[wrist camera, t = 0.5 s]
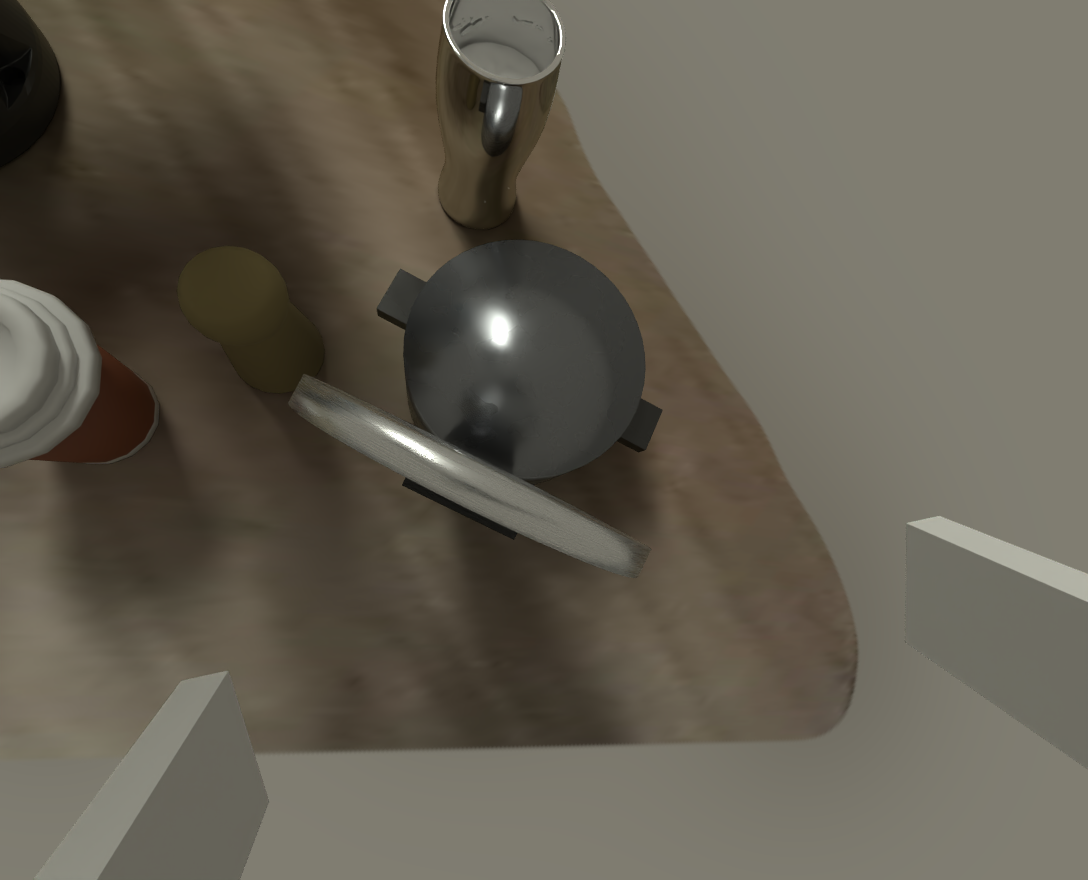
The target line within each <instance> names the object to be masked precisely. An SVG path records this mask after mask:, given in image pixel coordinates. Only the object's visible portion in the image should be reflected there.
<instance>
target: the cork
mask: <svg viewBox="0 0 1088 880" xmlns="http://www.w3.org/2000/svg"><path fill="white" fill-rule="evenodd" d="M177 295H178V300H179V305H180V308H181V310H182V312H183V314H184V315H185V317H186V318H187V320H188V322H189V323H190V324H191V325H192V326H193V327H195V328H196V329H197V330H198V331H199V332H201V333H202V334H203V335H204V336H205V337H207V338H209V339H212V340H214V341H216V342H219V343H220V344H221V346H222V348H223V349H224V351H225V353H226V355H227V356H228V358H229V360H230V361H231V363H232V365H233V367H234V368H235V370H236V371H237V373H238V375H239V376H240V378H242V379H243V380H244V381H245V382H246V383H248V384H249V385H250V386H251V387H254V388H256V389H259V390H261V391H264V392H270V393H285V392H290V391H295V389H296V387H297V385H298V383H299V382H300V380H301V378H302V376H303V374H305V375H308V376H311V377H313V378H314V377H315V376H316V375H317V374H318V372H319V370H320V367H321V365H322V363H323V359H324V350H325V349H324V345H323V340H322V336H321V335H320V333H319V332H318V330H317V328H316V327H315V325H314V324H313V323H312V322H310V321H309V320H308V319H307V318H306V317H305V316H304V315H303V314H302V313H301V312H300V311H299V310H298V309H297V308H296V307H295V306H294V305H293V304H292V303H291V302H290V301H289V295H288V291H287V286H286V283H285V281H284V279H283V278H282V276H281V275H280V273H279V271H278V270H277V268H276V267H275V266H274V265H273V264H271V263H270V262H269V261H268V260H267V259H265V258H264V257H263V256H261V255H260V254H258V253H256V252H253V251H251V250H249V249H247V248H243V247H236V246H222V247H214V248H210V249H208V250H206V251H203V252H201V253H199V254H197V255H196V256H195V257H194V258H193V259H192V260H190V261H189V262H188V263H187V264H186V266H185V267H184V269H183V271H182V273H181V274H180V276H179V280H178V286H177Z"/></svg>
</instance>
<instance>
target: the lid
mask: <svg viewBox="0 0 1088 880" xmlns="http://www.w3.org/2000/svg"><path fill="white" fill-rule="evenodd" d="M288 405H289V406H290V408H291V409H292V410H294V411H295V412H296V413H297V414H299V415H300V416H301V417H303V418H304V419H306V420H307V421H309V422H310V423H311V424H313V425H315V426H316V427H318V428H319V429H321V430H323V431H324V432H326V433H327V434H329V435H331V436H332V437H334V438H336V439H337V440H339V441H341V442H343V443H344V444H346V445H348V446H349V447H351V448H353V449H355V450H356V451H358V452H360V453H362V454H364V455H365V456H367V457H369V458H371V459H373V460H374V461H376V462H378V463H380V464H382V465H384V466H385V467H387V468H389V469H391V470H393V471H395V472H397V473H399V474H400V475H402V476H404V477H406V478H405V480H404V482H403V484H402V486H405V487H407V488H409V489H411V490H413V491H415V492H417V493H419V494H421V495H423V496H425V497H427V498H429V499H431V500H433V501H435V502H437V503H439V504H442V505H444V506H446V507H448V508H450V509H452V510H454V511H456V512H458V513H460V514H462V515H464V516H466V517H468V518H470V519H472V520H474V521H476V522H478V523H481V524H483V525H485V526H487V527H489V528H491V529H493V530H495V531H497V532H499V533H501V534H503V535H505V536H507V537H509V538H511V539H513V540H514V539H515V537H516V535H517V533H520V534H522V535H524V536H526V537H528V538H530V539H533V540H535V541H537V542H539V543H542V544H544V545H546V546H548V547H551V548H553V549H555V550H557V551H560V552H562V553H564V554H567V555H569V556H572V557H574V558H576V559H579V560H581V561H584V562H586V563H589V564H591V565H594V566H596V567H599V568H602V569H604V570H607V571H610V572H613V573H616V574H619V575H623V576H626V577H631V578H637V577H638V576H639V574H640V572H641V569H642V567H643V565H644V563H645V561H646V559H647V557H648V555H649V553H650V551H651V548H650V547H648V546H646V545H645V544H643V543H641V542H640V541H638V540H636V539H634V538H633V537H631V536H629V535H627V534H625V533H624V532H622V531H620V530H618V529H616V528H614V527H612V526H611V525H609V524H607V523H605V522H603V521H601V520H599V519H597V518H595V517H594V516H592V515H590V514H588V513H586V512H584V511H582V510H580V509H578V508H576V507H574V506H573V505H571V504H569V503H567V502H565V501H563V500H561V499H559V498H557V497H555V496H553V495H551V494H549V493H547V492H545V491H544V490H542V489H540V488H538V487H536V486H534V485H532V484H530V483H528V482H526V481H524V480H522V479H520V478H518V477H516V476H514V475H512V474H510V473H508V472H506V471H504V470H502V469H500V468H498V467H496V466H494V465H493V464H491V463H489V462H487V461H485V460H483V459H481V458H479V457H477V456H475V455H473V454H471V453H469V452H467V451H465V450H463V449H461V448H459V447H457V446H455V445H453V444H451V443H449V442H447V441H445V440H443V439H441V438H439V437H437V436H435V435H432V434H430V433H428V432H426V431H424V430H422V429H420V428H418V427H416V426H414V425H412V424H410V423H408V422H406V421H404V420H402V419H400V418H398V417H396V416H394V415H392V414H390V413H388V412H386V411H384V410H382V409H379V408H377V407H375V406H373V405H371V404H369V403H367V402H365V401H363V400H361V399H359V398H357V397H354V396H352V395H350V394H348V393H346V392H344V391H342V390H340V389H337V388H335V387H333V386H331V385H329V384H327V383H324V382H322V381H320V380H318V379H315V378H313V377H311V376H308V375H305V374H303V376H302V378H301V380H300V382H299V383H298V385H297V387H296V389H295V391H294V393H293V395H292V396H291V398H290V400H289V402H288Z"/></svg>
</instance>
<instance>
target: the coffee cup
mask: <svg viewBox="0 0 1088 880" xmlns="http://www.w3.org/2000/svg"><path fill="white" fill-rule="evenodd" d="M159 406H160V405H159V403H158V400H157V398H156V395H155V393H154V391H153V388H152V387H151V386H150V385H149V384H148V383H147V382H145V381H144V380H143V379H142V378H141V377H140V376H139V375H138V374H136V373H134V372H133V371H131V370H130V369H129V368H127V367H126V366H125V365H123V364H122V363H121V362H120V361H118V360H117V359H116V358H114V357H113V356H112V355H110V354H109V353H108V352H106V351H105V350H104V349H102V348H101V347H100V346H99V345H97V344H96V342H95V340H94V337H93V335H92V332H91V330H90V327H89V325H87V324H86V323H85V322H84V321H83V320H82V319H81V318H80V317H79V316H78V315H77V314H75V313H74V312H73V311H72V310H71V309H70V308H69V307H68V306H67V305H66V304H65V303H64V302H62V301H61V300H60V299H58V298H57V297H55V296H54V295H51V294H49V293H46V292H43V291H41V290H38V289H36V288H33V287H30V286H28V285H25V284H23V283H20V282H18V281H15V280H0V468H6V467H9V466H11V465H14V464H17V463H20V462H23V461H26V460H44V461H60V462H76V463H85V464H111V463H114V462H117V461H119V460H122V459H125V458H128V457H130V456H133V455H134V454H135V453H136V452H137V451H139V450H140V449H141V448H142V447H143V446H145V445H146V444H147V443H148V442H149V441H150V439H151V437H152V435H153V433H154V431H155V429H156V428H157V426H158V422H159Z"/></svg>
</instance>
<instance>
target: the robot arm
mask: <svg viewBox="0 0 1088 880" xmlns="http://www.w3.org/2000/svg"><path fill="white" fill-rule="evenodd" d="M59 92H60V76H59V69H58V65H57V61H56V58H55V55H54V53H53V50H52V48H51V46H50V44H49V43H48V41H47V39H46V38H45V36H44V35H43V33H42V32H41V31H40V29H39V28H38V27H37V25H36V24H35V23H34V21H33V20H32V19H31V17H30V16H29V15H28V14H27V12H26V11H25V10H24V8H23V7H22V6H21V5H20V3H19V2H18V1H17V0H0V166H2V165H4V164H6V163H8V162H10V161H11V160H13V159H14V158H16V157H17V156H19V155H20V154H22V153H23V152H24V151H25V150H27V149H28V148H29V147H30V146H31V145H32V144H33V143H34V142H35V141H36V140H37V139H38V138H39V137H40V136H41V134H42V133H43V132H44V130H45V129H46V127H47V126H48V124H49V122H50V121H51V119H52V116H53V114H54V112H55V109H56V106H57V102H58V98H59ZM905 603H906V604H905V606H906V607H905V608H906V609H905V642H906V643H907V644H908V645H910V646H911V647H913V648H914V649H916V650H917V651H918V652H920V653H921V654H923V655H924V656H926V657H927V658H928V659H930V660H931V661H933V662H934V663H936V664H937V665H939V666H940V667H941V668H943V669H944V670H946V671H947V672H949V673H950V674H952V675H953V676H954V677H956V678H957V679H959V680H960V681H962V682H963V683H964V684H966V685H967V686H969V687H970V688H972V689H973V690H974V691H976V692H977V693H979V694H980V695H981V696H983V697H984V698H986V699H987V700H989V701H990V702H992V703H993V704H995V705H996V706H997V707H999V708H1000V709H1002V710H1003V711H1005V712H1006V713H1007V714H1009V715H1010V716H1012V717H1013V718H1015V719H1016V720H1017V721H1019V722H1020V723H1022V724H1023V725H1025V726H1026V727H1028V728H1029V729H1030V730H1032V731H1033V732H1035V733H1036V734H1037V735H1039V736H1040V737H1042V738H1043V739H1045V740H1046V741H1048V742H1049V743H1050V744H1052V745H1053V746H1055V747H1056V748H1058V749H1059V750H1060V751H1062V752H1063V753H1065V754H1066V755H1068V756H1069V757H1071V758H1072V759H1073V760H1075V761H1076V762H1078V763H1079V764H1081V765H1082V766H1084V767H1085V768H1086V769H1088V574H1086V573H1084V572H1081V571H1079V570H1076V569H1074V568H1071V567H1069V566H1066V565H1063V564H1061V563H1058V562H1056V561H1053V560H1051V559H1048V558H1045V557H1043V556H1040V555H1038V554H1035V553H1032V552H1030V551H1028V550H1025V549H1022V548H1020V547H1017V546H1015V545H1012V544H1010V543H1007V542H1004V541H1002V540H999V539H997V538H994V537H992V536H989V535H987V534H984V533H982V532H979V531H976V530H974V529H971V528H969V527H966V526H964V525H961V524H959V523H956V522H953V521H951V520H948V519H946V518H943V517H941V516H937V517H933V518H928V519H923V520H919V521H914V522H909V523H906V601H905ZM268 803H269V800H268V797H267V793H266V790H265V787H264V784H263V780H262V777H261V774H260V771H259V768H258V764H257V761H256V758H255V754H254V751H253V748H252V745H251V741H250V738H249V735H248V732H247V728H246V725H245V722H244V719H243V716H242V712H241V709H240V706H239V703H238V699H237V696H236V693H235V690H234V686H233V683H232V680H231V677H230V673H229V670H228V671H224V672H219V673H214V674H210V675H205V676H201V677H196V678H191V679H187V680H182V681H181V682H180V683H179V684H178V686H177V687H176V688H175V690H174V691H173V692H172V694H171V695H170V696H169V698H168V699H167V700H166V702H165V703H164V704H163V706H162V707H161V708H160V710H159V711H158V713H157V714H156V715H155V717H154V718H153V719H152V721H151V722H150V723H149V725H148V726H147V727H146V729H145V730H144V731H143V733H142V734H141V735H140V737H139V738H138V739H137V741H136V742H135V743H134V745H133V746H132V747H131V749H130V750H129V752H128V753H127V754H126V756H125V757H124V758H123V760H122V761H121V762H120V764H119V765H118V766H117V768H116V769H115V770H114V772H113V773H112V774H111V776H110V777H109V778H108V780H107V781H106V782H105V784H104V785H103V787H102V788H101V789H100V791H99V792H98V793H97V795H96V796H95V797H94V799H93V800H92V801H91V803H90V804H89V805H88V807H87V808H86V809H85V811H84V812H83V813H82V815H81V816H80V818H79V819H78V820H77V821H76V823H75V825H73V827H72V828H71V830H70V831H69V832H68V834H67V835H66V836H65V838H64V839H63V840H62V842H61V843H60V844H59V846H58V847H57V848H56V850H55V851H54V852H53V854H52V855H51V856H50V858H49V859H48V861H47V862H46V863H45V865H44V866H43V867H42V869H41V870H40V871H39V873H38V874H37V875H36V877H35V878H34V879H33V880H240V878H241V875H242V872H243V870H244V867H245V864H246V861H247V859H248V856H249V853H250V851H251V848H252V845H253V843H254V840H255V837H256V835H257V832H258V829H259V827H260V824H261V821H262V818H263V816H264V813H265V810H266V808H267V805H268Z"/></svg>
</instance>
